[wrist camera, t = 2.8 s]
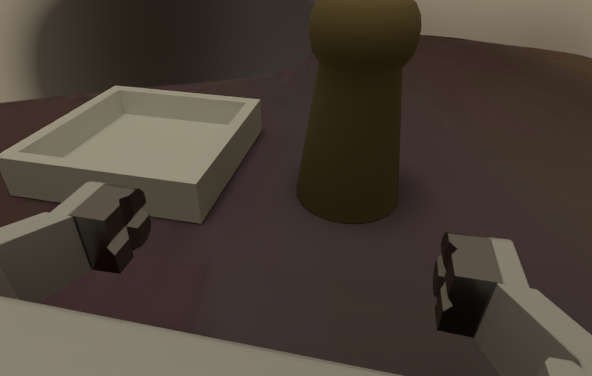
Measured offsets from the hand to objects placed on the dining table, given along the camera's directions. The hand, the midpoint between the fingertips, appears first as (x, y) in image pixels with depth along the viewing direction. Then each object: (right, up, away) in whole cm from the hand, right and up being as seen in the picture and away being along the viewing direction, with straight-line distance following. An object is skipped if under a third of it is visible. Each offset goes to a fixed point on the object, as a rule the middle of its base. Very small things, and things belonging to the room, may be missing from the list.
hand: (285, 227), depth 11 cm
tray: (-9, +3, +16) cm, 19 cm away
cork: (+3, +1, +13) cm, 14 cm away
